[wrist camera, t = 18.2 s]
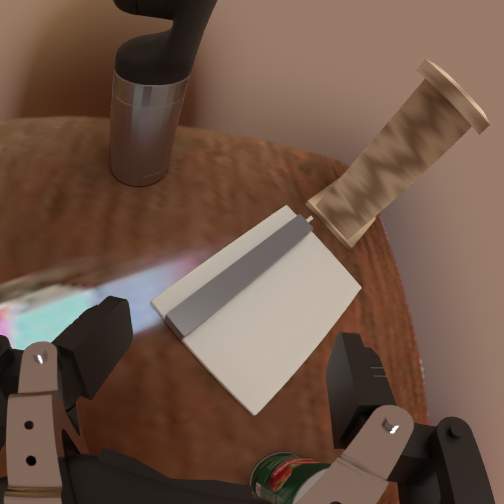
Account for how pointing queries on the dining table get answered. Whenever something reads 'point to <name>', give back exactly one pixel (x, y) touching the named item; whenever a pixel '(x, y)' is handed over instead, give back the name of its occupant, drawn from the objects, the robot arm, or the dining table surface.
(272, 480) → the canned tomato
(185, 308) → the dark grey block
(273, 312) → the off-white board
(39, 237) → the dining table surface
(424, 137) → the birch stand
